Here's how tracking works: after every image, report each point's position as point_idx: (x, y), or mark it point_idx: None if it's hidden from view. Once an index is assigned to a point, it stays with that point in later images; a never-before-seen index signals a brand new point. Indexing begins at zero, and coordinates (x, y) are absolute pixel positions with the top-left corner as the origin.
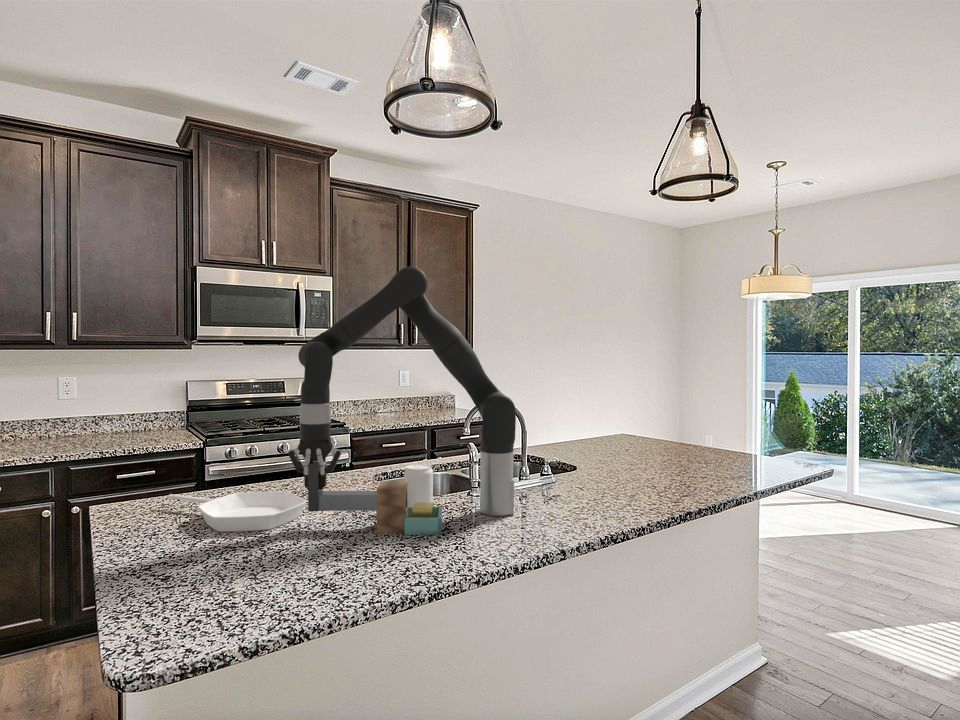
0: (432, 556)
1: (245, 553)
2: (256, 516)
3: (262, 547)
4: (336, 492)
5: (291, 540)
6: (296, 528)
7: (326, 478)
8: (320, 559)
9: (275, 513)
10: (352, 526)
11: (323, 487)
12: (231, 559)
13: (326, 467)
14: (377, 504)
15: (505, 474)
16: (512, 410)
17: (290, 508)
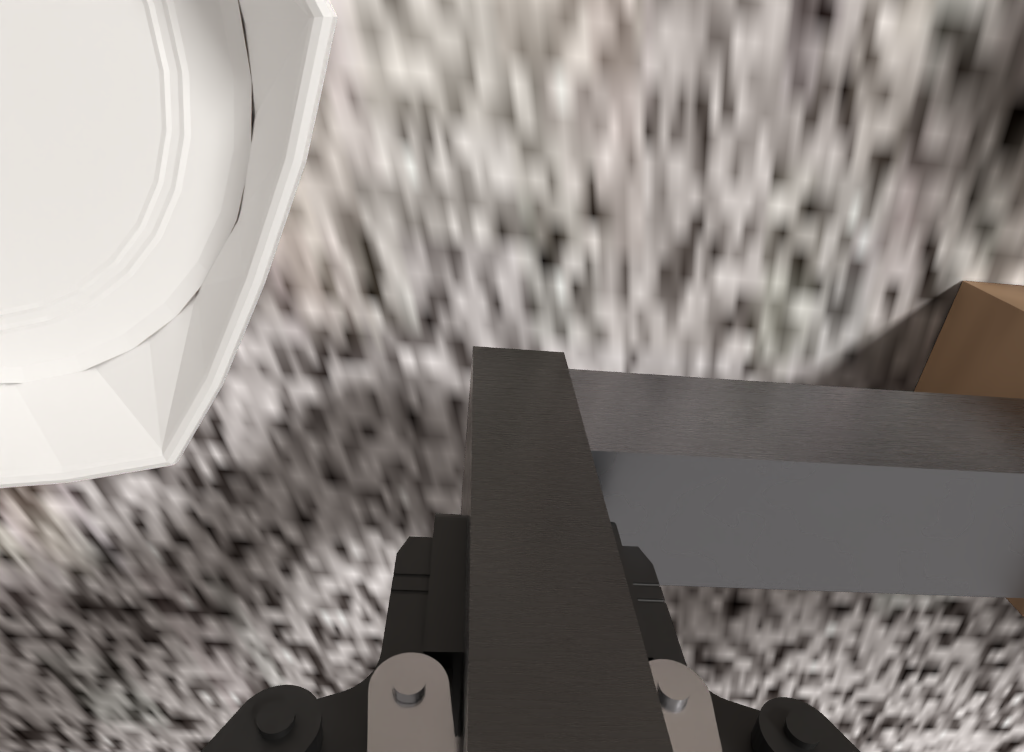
0: (1020, 724)
1: (231, 674)
2: (63, 482)
3: (280, 618)
4: (733, 512)
5: (400, 542)
6: (369, 341)
7: (670, 621)
8: None
9: (185, 433)
10: (755, 331)
11: None
12: (203, 723)
13: (720, 747)
14: (1013, 598)
15: None
16: None
17: (256, 294)
